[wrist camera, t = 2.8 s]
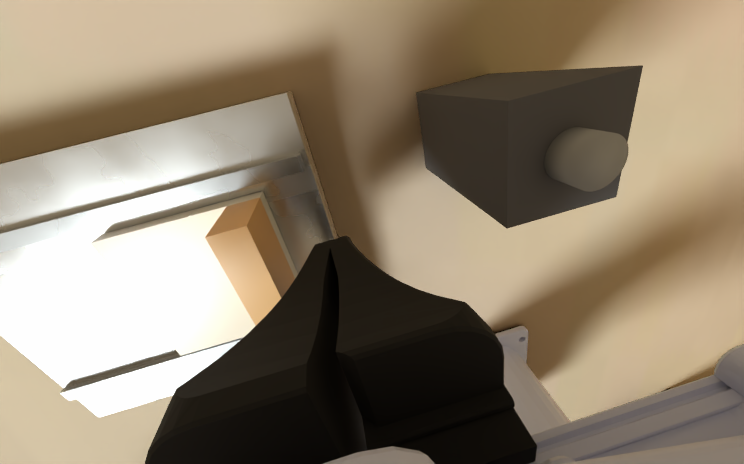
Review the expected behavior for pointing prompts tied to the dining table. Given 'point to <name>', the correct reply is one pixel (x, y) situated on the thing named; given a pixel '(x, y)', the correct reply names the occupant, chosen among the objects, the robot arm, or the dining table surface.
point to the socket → (128, 208)
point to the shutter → (203, 270)
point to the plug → (531, 138)
